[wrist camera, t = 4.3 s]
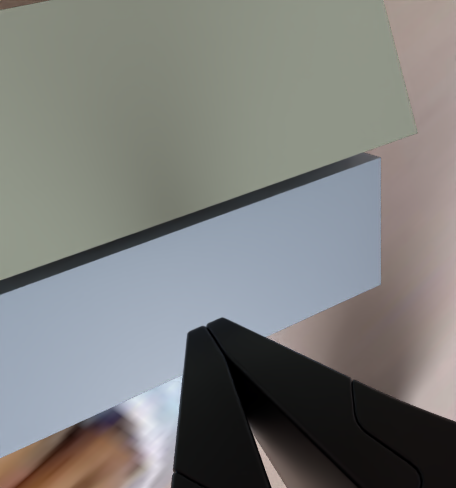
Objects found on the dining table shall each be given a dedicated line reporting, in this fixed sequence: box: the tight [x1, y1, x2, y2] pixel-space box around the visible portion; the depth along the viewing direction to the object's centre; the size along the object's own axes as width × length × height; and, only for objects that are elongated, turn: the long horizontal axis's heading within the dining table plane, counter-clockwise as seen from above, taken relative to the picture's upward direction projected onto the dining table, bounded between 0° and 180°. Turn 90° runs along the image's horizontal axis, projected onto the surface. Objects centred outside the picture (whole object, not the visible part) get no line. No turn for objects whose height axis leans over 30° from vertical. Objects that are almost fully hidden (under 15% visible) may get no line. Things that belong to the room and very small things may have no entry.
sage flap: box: [0, 0, 418, 280], centre depth 9 cm, size 14×5×1 cm, turn 103°
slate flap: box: [0, 152, 381, 458], centre depth 12 cm, size 14×5×1 cm, turn 103°
